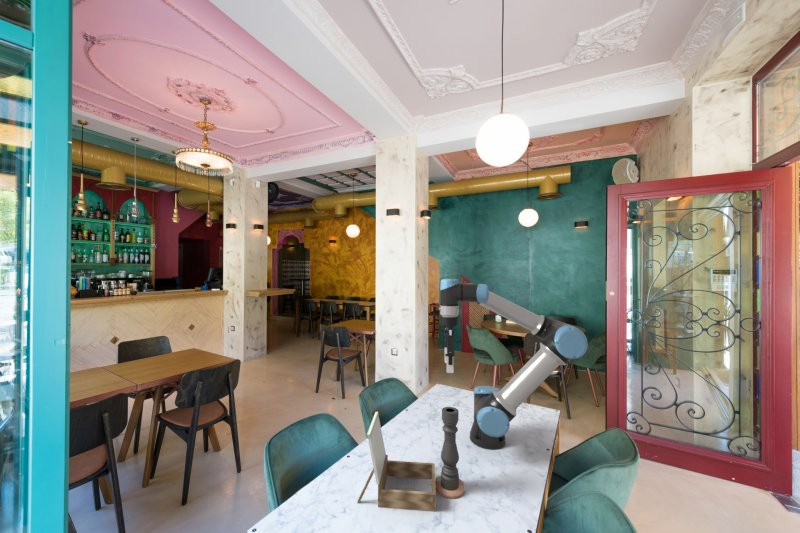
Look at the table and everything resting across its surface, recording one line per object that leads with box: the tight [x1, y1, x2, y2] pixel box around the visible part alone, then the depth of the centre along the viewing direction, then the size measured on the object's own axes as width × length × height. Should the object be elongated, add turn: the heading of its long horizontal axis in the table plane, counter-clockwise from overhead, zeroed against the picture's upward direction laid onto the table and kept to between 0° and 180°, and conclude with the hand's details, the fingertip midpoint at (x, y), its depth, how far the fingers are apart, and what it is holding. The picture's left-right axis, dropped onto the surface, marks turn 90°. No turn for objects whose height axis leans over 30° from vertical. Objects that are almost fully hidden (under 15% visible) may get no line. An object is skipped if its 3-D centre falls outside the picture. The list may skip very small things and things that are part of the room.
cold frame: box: [356, 454, 437, 512], centre depth 104 cm, size 25×16×12 cm, turn 85°
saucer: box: [435, 475, 465, 500], centre depth 105 cm, size 10×10×1 cm
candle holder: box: [440, 406, 460, 491], centre depth 105 cm, size 6×6×25 cm
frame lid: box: [366, 411, 387, 485], centre depth 105 cm, size 4×16×15 cm, turn 175°
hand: (448, 367), depth 127 cm, fingers open, 13 cm apart
